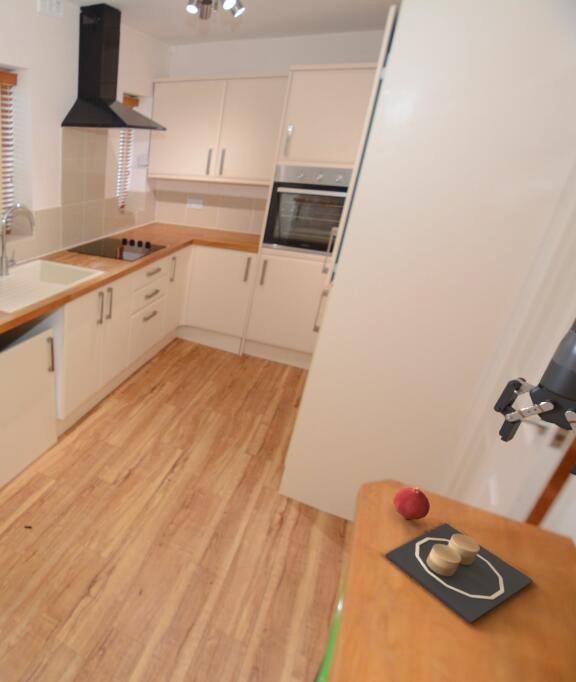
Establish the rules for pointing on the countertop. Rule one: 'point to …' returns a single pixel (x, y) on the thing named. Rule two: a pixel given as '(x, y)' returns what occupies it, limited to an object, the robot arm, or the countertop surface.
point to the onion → (411, 503)
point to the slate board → (460, 575)
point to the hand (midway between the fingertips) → (539, 455)
